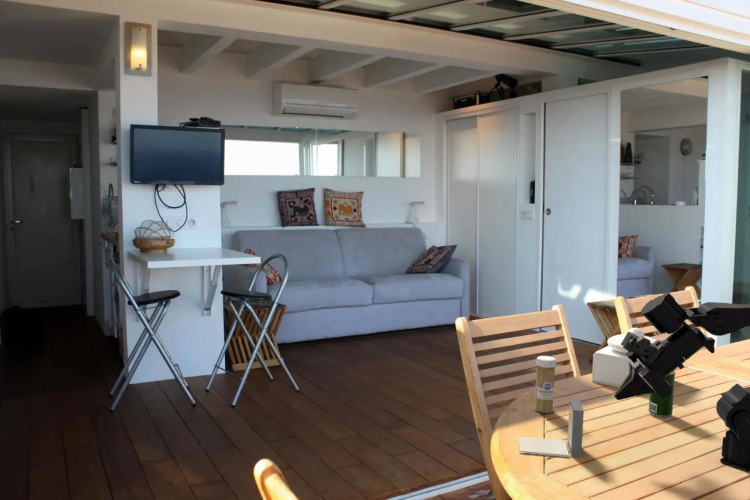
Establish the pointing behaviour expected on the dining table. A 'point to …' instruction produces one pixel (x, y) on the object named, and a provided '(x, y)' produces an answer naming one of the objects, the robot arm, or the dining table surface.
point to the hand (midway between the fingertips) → (615, 398)
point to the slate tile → (575, 428)
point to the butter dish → (614, 360)
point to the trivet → (543, 446)
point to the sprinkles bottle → (545, 384)
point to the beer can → (662, 401)
